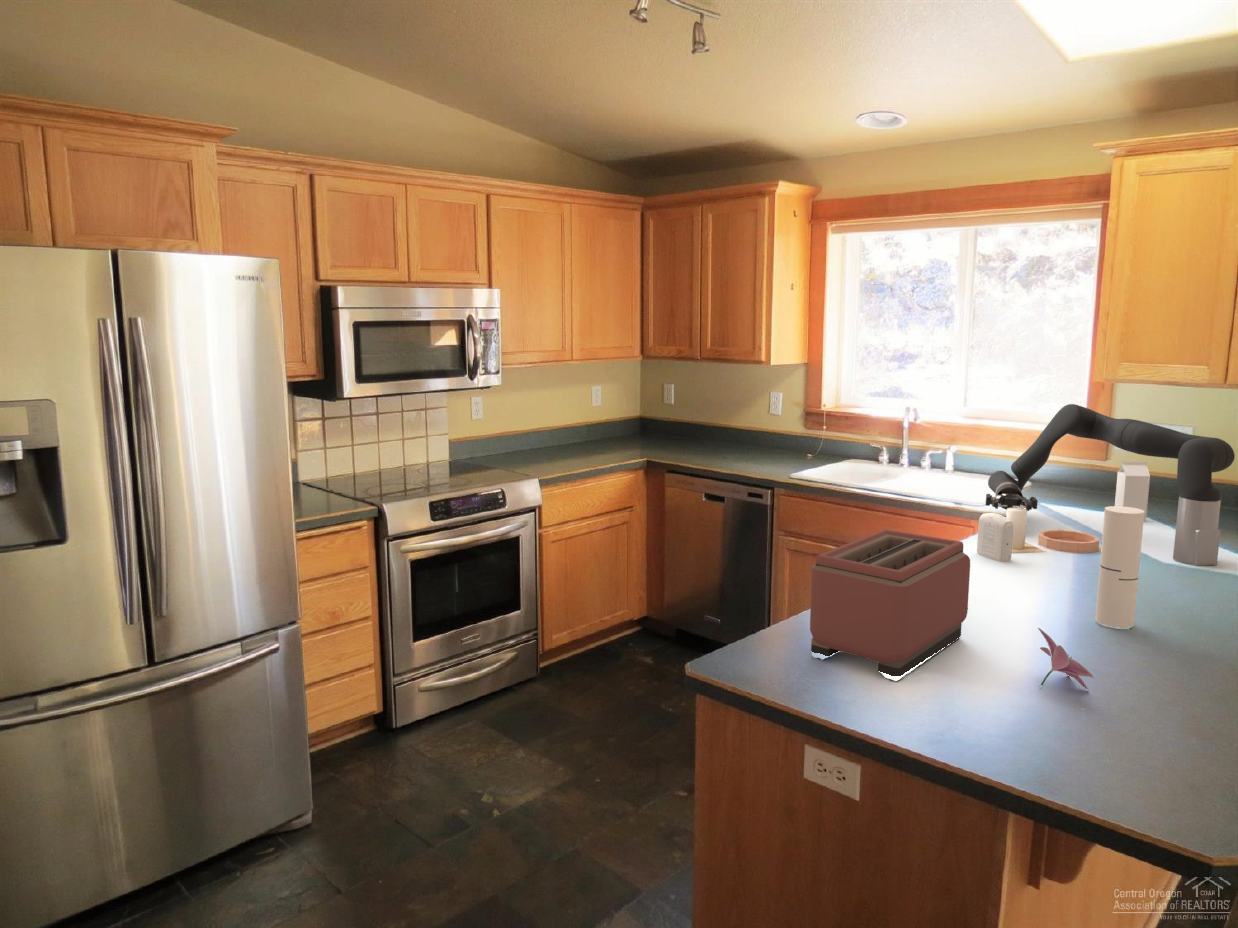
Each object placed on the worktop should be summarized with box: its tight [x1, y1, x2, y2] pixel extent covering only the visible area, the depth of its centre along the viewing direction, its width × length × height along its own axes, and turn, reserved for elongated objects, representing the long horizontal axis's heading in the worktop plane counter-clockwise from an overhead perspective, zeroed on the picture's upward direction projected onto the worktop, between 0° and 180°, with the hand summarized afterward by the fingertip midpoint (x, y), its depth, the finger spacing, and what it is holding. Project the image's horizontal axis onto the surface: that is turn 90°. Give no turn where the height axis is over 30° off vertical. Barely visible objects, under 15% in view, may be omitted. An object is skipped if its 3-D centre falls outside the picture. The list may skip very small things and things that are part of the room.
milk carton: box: [1114, 461, 1151, 522], centre depth 274 cm, size 7×7×19 cm
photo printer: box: [976, 512, 1014, 563], centre depth 231 cm, size 10×4×12 cm, turn 17°
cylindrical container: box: [1094, 505, 1145, 628], centre depth 178 cm, size 7×7×25 cm
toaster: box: [809, 528, 971, 676], centre depth 169 cm, size 19×36×21 cm, turn 137°
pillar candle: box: [1005, 508, 1028, 549], centre depth 240 cm, size 5×5×11 cm
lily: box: [1037, 627, 1095, 690], centre depth 149 cm, size 12×12×10 cm
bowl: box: [1037, 529, 1100, 554], centre depth 242 cm, size 15×15×3 cm
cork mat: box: [1012, 541, 1047, 554], centre depth 241 cm, size 12×12×1 cm
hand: (1012, 506), depth 250 cm, fingers open, 8 cm apart
